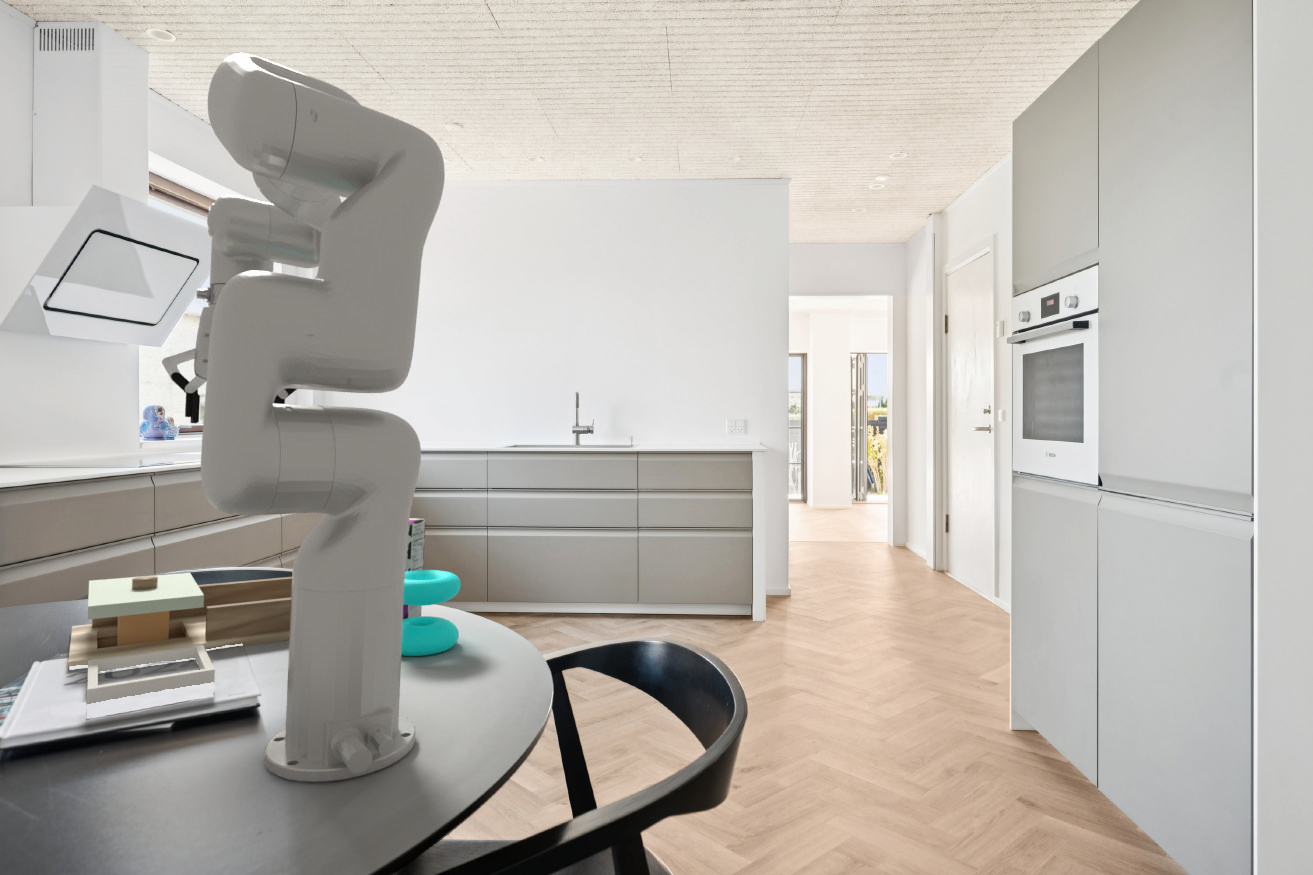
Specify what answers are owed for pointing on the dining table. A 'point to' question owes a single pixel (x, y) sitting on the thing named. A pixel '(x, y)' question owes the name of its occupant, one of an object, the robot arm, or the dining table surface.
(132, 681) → the dish
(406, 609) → the candy bar box
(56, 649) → the dining table surface
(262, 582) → the brown wooden open box
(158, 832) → the dining table surface
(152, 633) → the block
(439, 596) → the donuts
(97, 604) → the cover
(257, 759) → the dining table surface
